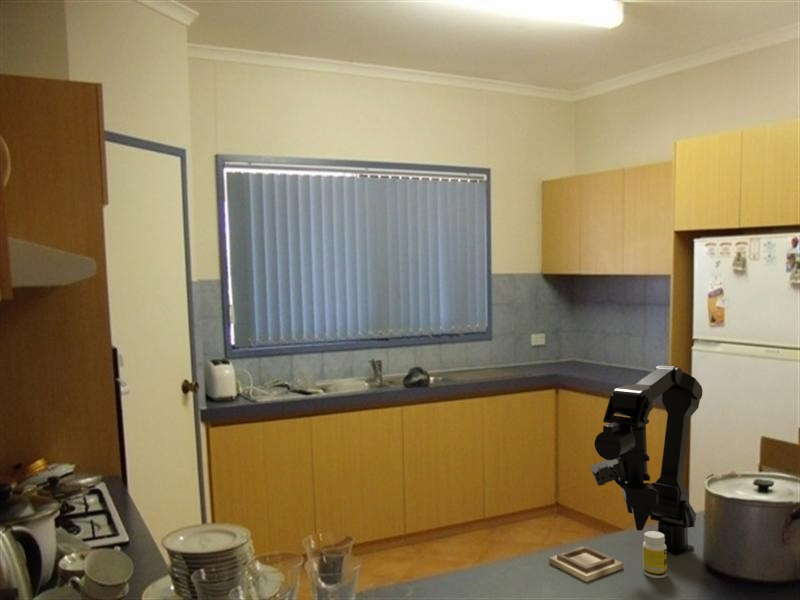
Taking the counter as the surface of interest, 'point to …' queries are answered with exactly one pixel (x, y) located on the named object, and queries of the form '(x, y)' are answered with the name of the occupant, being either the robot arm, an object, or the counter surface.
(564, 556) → the coaster board
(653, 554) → the supplement bottle
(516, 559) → the counter surface
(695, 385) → the robot arm
